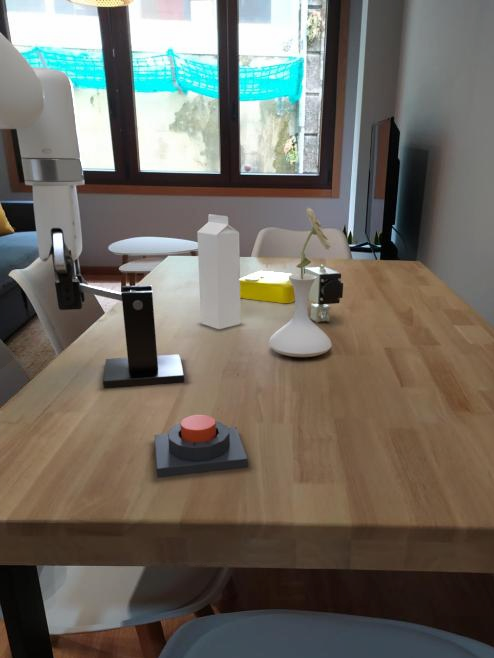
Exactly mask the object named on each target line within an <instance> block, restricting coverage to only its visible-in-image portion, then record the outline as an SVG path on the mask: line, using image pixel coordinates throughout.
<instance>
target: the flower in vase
mask: <svg viewBox="0 0 494 658" xmlns="http://www.w3.org/2000/svg"><path fill="white" fill-rule="evenodd" d="M306 214H307V218H308V221H309V223H310V224H311V230H310V232H309V234H308V236H307V238H306V240H305V242H304V244H303V247H302V250H301V251H300V252H301V253H300V254H301V255H300V263H298V264H297V265H295V267H296V268H299V269H300V273H290V274H291V275H289V276H288V278H289V280H290V281H291V283H292V285H293V288H294V293H295V301H294V314H293V316H292V318H291V320H290V321H288V322H287V323H286V324H285V325H283V326H282V327H281V328H279V329H278V330H277V331H276V332H274V333H273V334H272V335H271V336H270V339H269V340H268V345H269V347H270V349H271V350H273V351H274V352H276V353H277V354H280V355H284V356H288V357H294V358H309V357H317V356H320V355H322V354H325V353H327V352H329V351H330V349H331V348H332V345H333V343H332V341H331V338H330V337H329V336H328V335H327V333H325V332H324V331H323V330H322V329H321V328H320V327H318V326H317V325H316V324H315V322H312V321H313V320H312V319H311V318H310V315H309V310H308V309H309V308H308V307H309V306H308V305H309V292H310V289H311V286H312V284H313V282H314V281H315V280H316V278H317V277H316V276H315V275H310V274H304V267H308V265H310V264H311V263H312V261H311V260H309V258H307V257H306V254H305V250H306V247H307V245H308V243H309V241H310V239H311V237H312V235H314V236H317V238H318V240H319V242H320V244H321V245H322V246H323V247H324V249H325V250H326V251H328V250H330V249H331V245H330V243H329V242H328V240H329V239H328V236H327V235H326V234H325V233H324V232H323V229H322V223H321V222H320V220H318V219H316V215H315V212H314V210H313V209H312V208H311V207H309V206H308V207H307V208H306Z"/></svg>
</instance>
